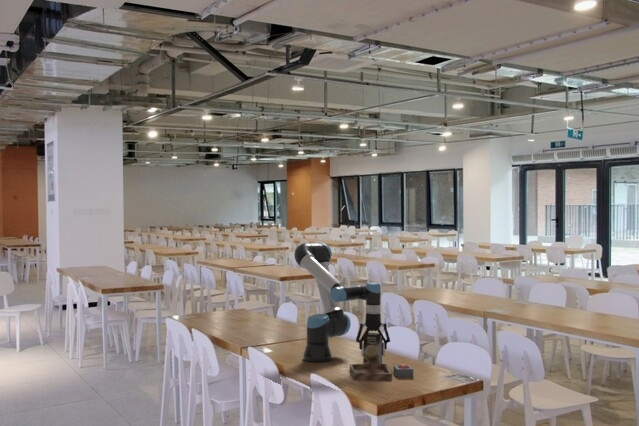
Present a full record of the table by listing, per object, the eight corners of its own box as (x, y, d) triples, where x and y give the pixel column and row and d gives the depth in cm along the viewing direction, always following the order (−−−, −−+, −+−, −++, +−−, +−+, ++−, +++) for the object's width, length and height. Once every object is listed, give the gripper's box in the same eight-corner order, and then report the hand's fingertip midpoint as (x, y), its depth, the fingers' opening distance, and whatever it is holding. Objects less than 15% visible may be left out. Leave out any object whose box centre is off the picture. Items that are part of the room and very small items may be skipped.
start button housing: (396, 377, 281) (396, 369, 281) (393, 373, 289) (393, 365, 289) (413, 377, 282) (413, 369, 282) (409, 373, 290) (409, 364, 290)
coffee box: (362, 365, 303) (362, 334, 303) (365, 362, 309) (365, 332, 309) (380, 367, 300) (380, 335, 300) (382, 364, 306) (383, 333, 306)
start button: (400, 372, 283) (400, 366, 283) (398, 370, 287) (398, 363, 287) (408, 372, 284) (408, 365, 284) (406, 370, 288) (406, 363, 288)
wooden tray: (353, 380, 276) (353, 373, 276) (349, 370, 294) (349, 364, 294) (391, 379, 277) (391, 373, 277) (385, 370, 295) (385, 364, 295)
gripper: (352, 313, 301) (351, 357, 300) (396, 313, 302) (396, 357, 302) (350, 311, 308) (350, 354, 308) (393, 311, 309) (393, 353, 309)
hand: (372, 355), depth 305 cm, fingers closed on coffee box, 10 cm apart
